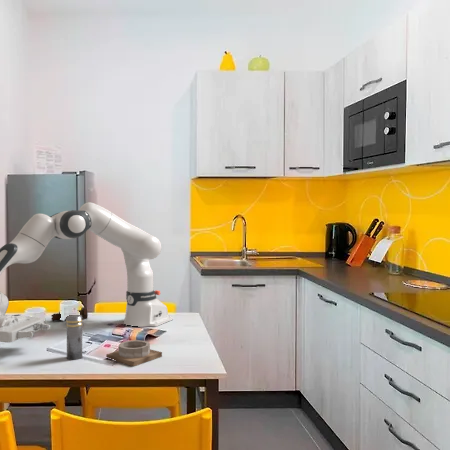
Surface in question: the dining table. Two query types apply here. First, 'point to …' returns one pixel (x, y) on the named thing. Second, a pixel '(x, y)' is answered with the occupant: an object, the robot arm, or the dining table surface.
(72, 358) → the cylinder
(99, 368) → the dining table surface
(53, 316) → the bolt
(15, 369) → the dining table surface
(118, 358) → the collar plate
